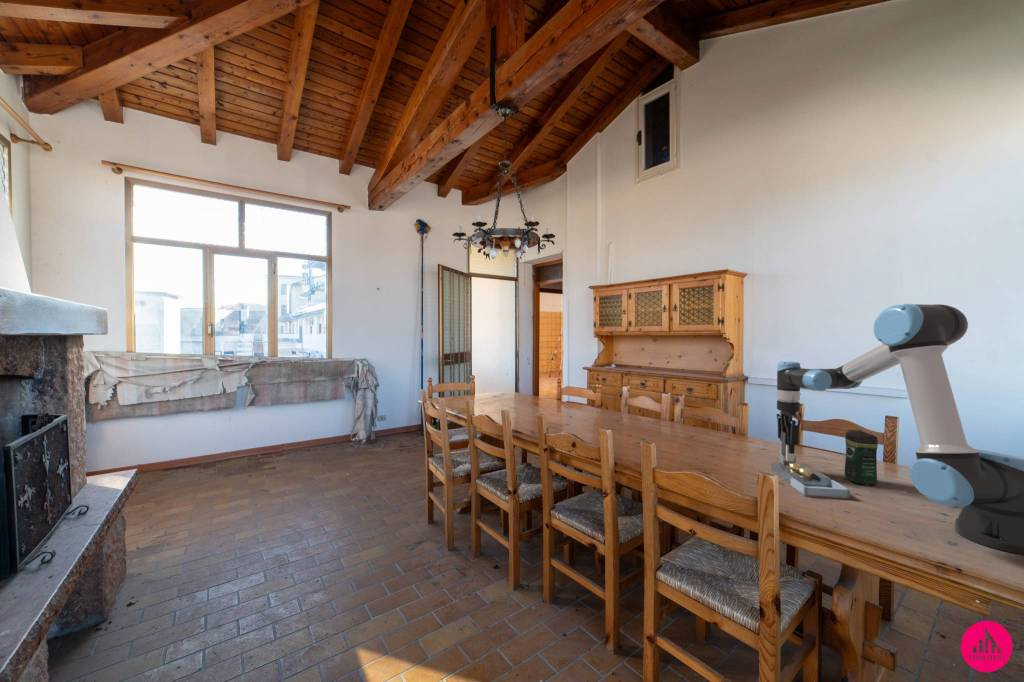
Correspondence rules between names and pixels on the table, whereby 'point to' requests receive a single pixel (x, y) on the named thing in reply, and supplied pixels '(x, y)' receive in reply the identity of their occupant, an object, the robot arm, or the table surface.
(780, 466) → the slot board
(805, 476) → the gold dome knob
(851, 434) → the coffee jar
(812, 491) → the tray
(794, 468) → the brass round knob
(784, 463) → the stepped gray block
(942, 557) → the table surface
